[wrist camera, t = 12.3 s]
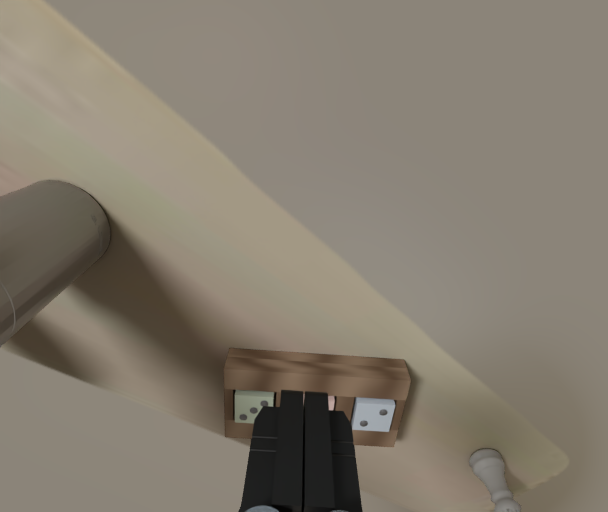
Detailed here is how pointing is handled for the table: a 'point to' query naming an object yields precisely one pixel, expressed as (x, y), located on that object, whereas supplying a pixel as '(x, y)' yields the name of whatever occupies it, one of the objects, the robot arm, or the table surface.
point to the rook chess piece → (494, 479)
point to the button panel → (317, 384)
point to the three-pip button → (251, 404)
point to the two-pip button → (372, 414)
